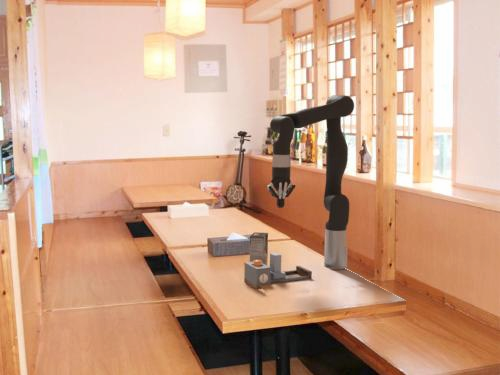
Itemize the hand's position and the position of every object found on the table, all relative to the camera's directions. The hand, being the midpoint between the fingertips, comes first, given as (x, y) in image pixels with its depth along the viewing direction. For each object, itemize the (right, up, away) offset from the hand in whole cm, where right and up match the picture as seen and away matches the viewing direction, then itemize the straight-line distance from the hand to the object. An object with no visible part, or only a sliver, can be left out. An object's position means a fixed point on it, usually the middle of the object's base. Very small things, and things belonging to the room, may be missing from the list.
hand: (280, 207), depth 265 cm
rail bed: (-1, -30, -5) cm, 30 cm away
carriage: (-2, -28, -6) cm, 29 cm away
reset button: (-10, -24, -10) cm, 28 cm away
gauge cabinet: (-10, -29, -10) cm, 32 cm away
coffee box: (-9, -28, +12) cm, 31 cm away
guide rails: (+1, -28, -5) cm, 29 cm away
